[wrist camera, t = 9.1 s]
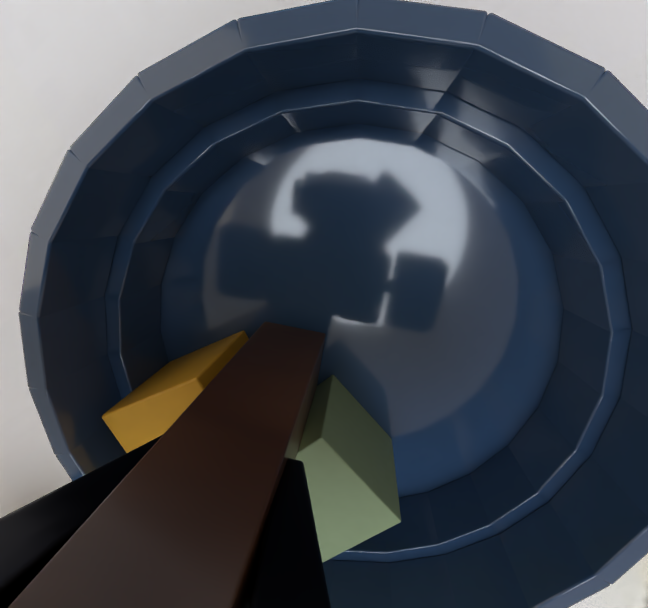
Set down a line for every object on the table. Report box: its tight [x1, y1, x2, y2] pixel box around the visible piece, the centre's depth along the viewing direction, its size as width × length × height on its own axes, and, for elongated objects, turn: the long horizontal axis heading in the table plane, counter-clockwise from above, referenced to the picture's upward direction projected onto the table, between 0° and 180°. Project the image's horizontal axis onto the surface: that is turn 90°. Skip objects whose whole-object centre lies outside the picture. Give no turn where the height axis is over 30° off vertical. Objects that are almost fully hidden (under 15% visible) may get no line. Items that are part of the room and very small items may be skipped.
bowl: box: [19, 0, 648, 608], centre depth 11 cm, size 18×18×6 cm
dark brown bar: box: [8, 322, 326, 608], centre depth 7 cm, size 2×2×12 cm
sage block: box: [296, 375, 401, 563], centre depth 13 cm, size 4×4×4 cm
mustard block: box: [102, 331, 249, 453], centre depth 13 cm, size 4×4×4 cm
